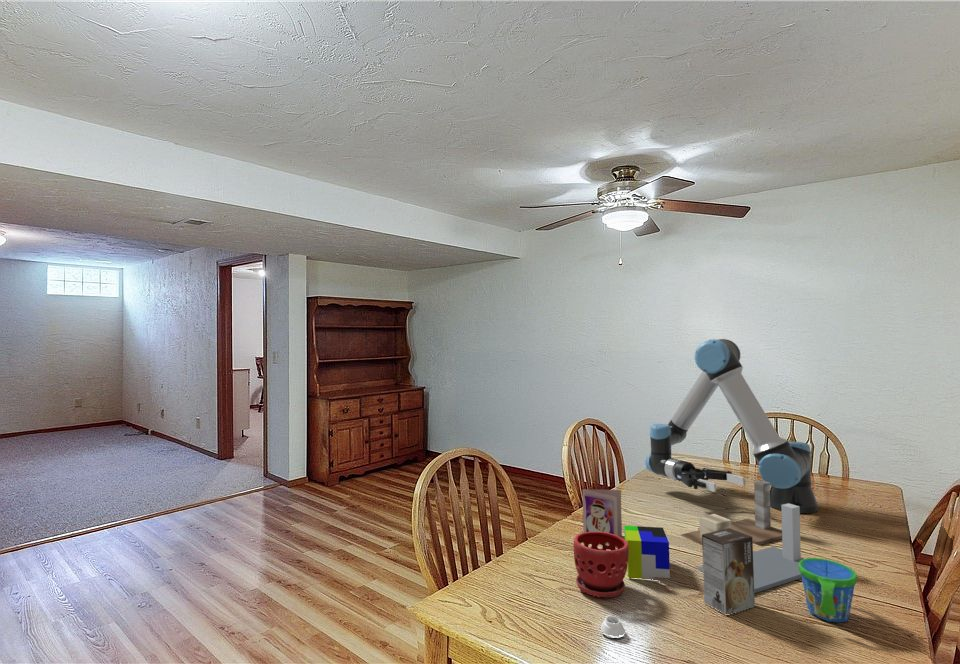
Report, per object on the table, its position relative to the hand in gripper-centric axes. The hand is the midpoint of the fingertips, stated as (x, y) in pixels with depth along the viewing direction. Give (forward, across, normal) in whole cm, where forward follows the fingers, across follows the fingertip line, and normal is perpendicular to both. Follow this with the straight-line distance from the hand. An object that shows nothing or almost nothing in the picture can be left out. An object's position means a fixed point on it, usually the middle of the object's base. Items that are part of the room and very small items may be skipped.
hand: (729, 484), depth 168 cm
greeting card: (-5, +48, -11) cm, 50 cm away
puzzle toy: (+16, +51, -12) cm, 55 cm away
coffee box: (+37, +46, -12) cm, 61 cm away
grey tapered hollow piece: (+34, +77, -12) cm, 85 cm away
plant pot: (+18, +67, -11) cm, 71 cm away
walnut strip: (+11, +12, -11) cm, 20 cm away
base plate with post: (+29, +25, -12) cm, 40 cm away
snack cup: (+49, +30, -12) cm, 59 cm away
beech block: (+11, +20, -10) cm, 25 cm away
